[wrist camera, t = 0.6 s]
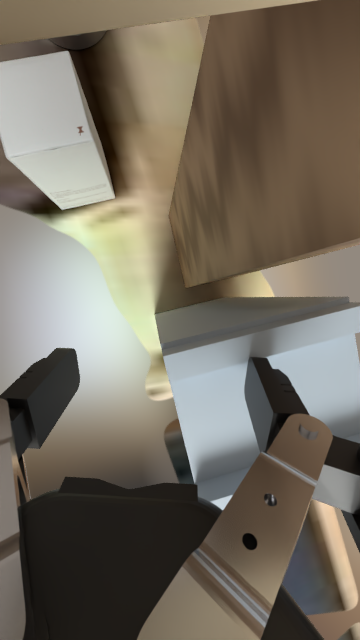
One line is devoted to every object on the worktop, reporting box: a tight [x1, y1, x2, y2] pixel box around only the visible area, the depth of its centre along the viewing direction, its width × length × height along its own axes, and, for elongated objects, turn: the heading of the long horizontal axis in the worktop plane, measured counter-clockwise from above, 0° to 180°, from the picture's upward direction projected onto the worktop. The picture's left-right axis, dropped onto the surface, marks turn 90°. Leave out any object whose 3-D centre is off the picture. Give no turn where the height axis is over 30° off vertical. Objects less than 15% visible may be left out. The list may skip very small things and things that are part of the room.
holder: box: [155, 297, 360, 510], centre depth 24 cm, size 9×10×25 cm
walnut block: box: [169, 0, 360, 288], centre depth 20 cm, size 10×7×32 cm
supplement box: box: [0, 51, 115, 210], centre depth 27 cm, size 7×7×13 cm
